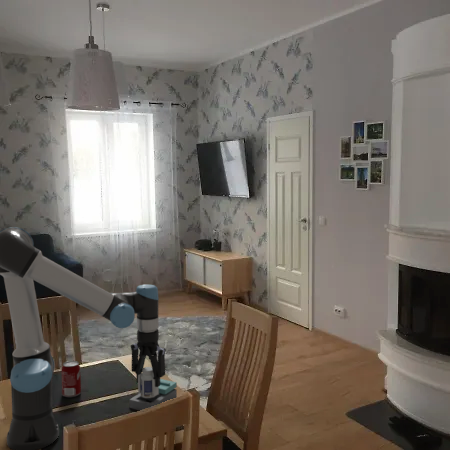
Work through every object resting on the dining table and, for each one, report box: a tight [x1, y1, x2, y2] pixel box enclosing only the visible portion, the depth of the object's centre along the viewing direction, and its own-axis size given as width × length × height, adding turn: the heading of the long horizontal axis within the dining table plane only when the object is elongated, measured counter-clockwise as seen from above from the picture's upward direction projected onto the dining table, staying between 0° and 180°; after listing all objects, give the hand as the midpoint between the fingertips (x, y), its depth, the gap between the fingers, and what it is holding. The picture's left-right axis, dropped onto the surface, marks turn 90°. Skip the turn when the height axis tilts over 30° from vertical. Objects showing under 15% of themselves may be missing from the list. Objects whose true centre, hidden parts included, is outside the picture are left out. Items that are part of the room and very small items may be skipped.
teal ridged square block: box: [159, 378, 177, 394], centre depth 188 cm, size 8×8×3 cm
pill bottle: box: [141, 366, 154, 398], centre depth 181 cm, size 5×5×10 cm
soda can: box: [61, 360, 82, 398], centre depth 190 cm, size 7×7×12 cm
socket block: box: [128, 388, 178, 411], centre depth 184 cm, size 15×10×3 cm, turn 153°
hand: (148, 393), depth 181 cm, fingers closed on pill bottle, 5 cm apart
